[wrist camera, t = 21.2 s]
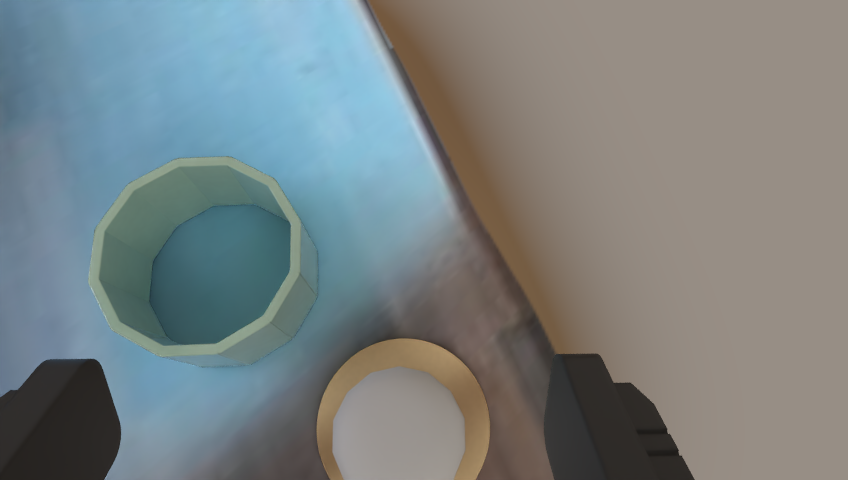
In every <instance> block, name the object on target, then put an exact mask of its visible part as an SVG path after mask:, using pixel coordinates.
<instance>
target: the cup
mask: <svg viewBox="0 0 848 480" xmlns="http://www.w3.org/2000/svg"><path fill="white" fill-rule="evenodd" d="M250 204H255V205H257V206H259V207H261V208H263V209H265V210H267V211H269V212H271V213H273V214H275V215H276V216H278V217H280V218H282V219H284V220H286V221H288V222H289V223H290V224H291V237H290V272H289V274H288V275H287V277H286V278H285V280H284V282H283V283H282V285H281V287H280V288H279V290H278V292H277V293H276V295H275V297H274V298H273V300H272V302H271V303H270V305H269V306H268V308H267V310H266V311H265V313H264V315H263V316H261V317H260V318H258V319H256V320H255V321H253V322H251V323H250V324H248V325H246V326H245V327H243V328H241V329H240V330H238V331H236V332H235V333H233V334H231V335H230V336H228V337H226V338H225V339H223V340H221V341H220V342H218V343H213V344H191V345H180V344H178V343H176V342H174V341H172V340H171V339H169V338H167V336H166V334H165V332H164V330H163V328H162V326H161V324H160V322H159V320H158V318H157V316H156V314H155V312H154V310H153V308H152V306H151V305H150V303H149V298H150V288H151V277H152V267H153V260H154V259H155V258H156V256H157V255H158V253H159V252H160V250H161V249H162V247H163V246H164V244H165V243H166V242H167V240H168V239H169V237H170V236H171V234H172V233H173V231H174V230H175V228H176V227H177V226H178V225H180V224H182V223H184V222H186V221H187V220H189V219H191V218H193V217H195V216H196V215H198V214H200V213H202V212H204V211H206V210H207V209H209V208H211V207H213V206H222V205H250ZM88 282H89V286H90V288H91V290H92V292H93V294H94V296H95V298H96V300H97V302H98V304H99V306H100V308H101V310H102V312H103V314H104V316H105V318H106V320H107V322H108V324H109V327H110V329H112V331H114V332H116V333H117V334H119V335H121V336H123V337H124V338H126V339H128V340H130V341H132V342H133V343H135V344H137V345H139V346H141V347H142V348H144V349H146V350H148V351H150V352H151V353H153V354H155V355H157V356H159V357H163V358H167V359H171V360H174V361H178V362H182V363H186V364H190V365H194V366H198V367H202V368H203V367H224V366H246V365H252V364H253V363H255V362H256V361H258V360H260V359H261V358H263V357H265V356H266V355H268V354H269V353H271V352H273V351H274V350H276V349H278V348H279V347H281V346H283V345H284V344H286V343H287V342H289V341H291V340H292V339H293V338H294V337H295V335H296V333H297V332H298V330H299V328H300V326H301V325H302V323H303V321H304V320H305V318H306V316H307V314H308V313H309V311H310V309H311V308H312V306H313V304H314V302H315V301H316V299H317V296H318V253H317V250H316V248H315V246H314V244H313V242H312V240H311V239H310V237H309V235H308V233H307V231H306V229H305V228H304V226H303V224H302V222H301V220H300V218H299V217H298V215H297V214H296V212H295V210H294V209H293V207H292V205H291V204H290V202H289V201H288V199H287V197H286V196H285V194H284V192H283V191H282V189H281V188H280V186H279V184H278V183H277V181H276V180H275V179H274V178H272V177H270V176H268V175H266V174H264V173H262V172H260V171H258V170H256V169H254V168H252V167H250V166H248V165H246V164H244V163H242V162H240V161H238V160H236V159H234V158H232V157H229V156H226V157H195V158H177V159H174V160H172V161H170V162H168V163H167V164H165V165H163V166H161V167H159V168H157V169H155V170H153V171H151V172H149V173H148V174H146V175H144V176H142V177H140V178H138V179H136V180H134V181H132V182H130V183H129V185H127V186H126V187H125V188H124V190H123V191H122V192H121V194H120V195H119V197H118V198H117V199H116V201H115V202H114V203H113V205H112V206H111V207H110V209H109V210H108V212H107V213H106V214H105V216H104V217H103V218H102V220H101V221H100V222H99V224H98V225H97V226H96V229H95V231H94V239H93V247H92V255H91V262H90V270H89V278H88Z"/></svg>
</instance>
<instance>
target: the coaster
mask: <svg viewBox="0 0 848 480" xmlns="http://www.w3.org/2000/svg"><path fill="white" fill-rule="evenodd" d="M398 366H400V367H405V368H410V369H415V370H419V371H424V372H428V373H429V374H430V375H432V376H433V377H434V378H435V379H437V380H438V381H439V382H440V383H441V384H443V385H444V386H445V387H446V388H448V389H449V390H450V391H451V393H452V394H453V396H454V398H455V400H456V402H457V404H458V406H459V408H460V410H461V412H462V414H463V416H464V418H465V452H464V455H463V457H462V460H461V462H460V465H459V467H458V470H457V472H456V475H455V477H454V480H475V479H476V478H477V476H478V474H479V472H480V470H481V468H482V466H483V463H484V461H485V458H486V455H487V450H488V446H489V438H490V418H489V411H488V407H487V403H486V399H485V396H484V394H483V392H482V389H481V387H480V385H479V383H478V382H477V380H476V378H475V377H474V375H473V374H472V373H471V371H470V370H469V369H468V367H467V366H466V365H465V364H464V363H463V362H462V361H461V360H460V359H458V358H457V357H456V356H455V355H453V354H452V353H450V352H449V351H447V350H446V349H444V348H442V347H440V346H438V345H435V344H433V343H430V342H426V341H423V340H417V339H405V338H400V339H391V340H386V341H382V342H378V343H376V344H373V345H371V346H368V347H367V348H365V349H363V350H361V351H359V352H358V353H356V354H355V355H354V356H352V357H351V358H350V359H349V360H348V361H347V362H345V363H344V364H343V365H342V366H341V368H340V369H339V370H338V371H337V372H336V374H335V375H334V376H333V378H332V380H331V381H330V383H329V384H328V386H327V388H326V391H325V393H324V395H323V398H322V401H321V404H320V407H319V412H318V417H317V443H318V449H319V454H320V457H321V460H322V463H323V466H324V468H325V470H326V473H327V475H328V477H329V478H330V480H344V479H343V477H342V474H341V472H340V469H339V467H338V465H337V462H336V460H335V457H334V455H333V452H332V449H333V420H334V418H335V416H336V414H337V412H338V410H339V408H340V406H341V404H342V402H343V400H344V398H345V396H346V394H347V392H348V391H349V390H351V389H352V388H353V387H354V386H355V385H357V384H358V383H359V382H360V381H361V380H363V379H364V378H365V377H366V376H367V375H369V374H370V373H372V372H377V371H381V370H385V369H390V368H394V367H398Z"/></svg>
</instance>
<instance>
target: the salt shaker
mask: <svg viewBox="0 0 848 480" xmlns="http://www.w3.org/2000/svg"><path fill="white" fill-rule="evenodd" d="M332 452H333V455H334V457H335V460H336V462H337V465H338V467H339V469H340V472H341V474H342V477H343V479H344V480H454V477H455V475H456V472H457V470H458V467H459V465H460V462H461V460H462V457H463V455H464V452H465V418H464V416H463V414H462V412H461V410H460V408H459V406H458V404H457V402H456V400H455V398H454V396H453V394H452V393H451V391H450V390H449V389H448V388H446V387H445V386H444V385H443V384H441V383H440V382H439V381H438V380H437V379H435V378H434V377H433V376H432V375H430V374H429V373H428V372H424V371H419V370H415V369H410V368H405V367H400V366H398V367H394V368H390V369H385V370H381V371H377V372H372V373H370V374H369V375H367V376H366V377H365V378H364V379H363V380H361V381H360V382H359V383H358V384H357V385H355V386H354V387H353V388H352V389H351V390H349V391H348V392H347V394H346V396H345V398H344V400H343V402H342V404H341V406H340V408H339V410H338V412H337V414H336V416H335V418H334V420H333V449H332Z"/></svg>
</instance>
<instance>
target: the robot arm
mask: <svg viewBox="0 0 848 480" xmlns="http://www.w3.org/2000/svg"><path fill="white" fill-rule="evenodd" d="M544 435H545V444H546V450H547V454H548V458H549V462H550V465H551V469H552V472H553V476H554V479H555V480H694V478H693V476H692V474H691V472H690V471H689V469H688V467H687V465H686V463H685V461H684V459H683V458H682V456H679V453H678V451H679V450H678V448H677V446H676V444H675V442H674V441H673V439H672V437H671V435H670V434H668V433H667V428H666V426H665V424H664V422H663V420H662V418H661V416H660V415H659V413H658V411H657V409H656V407H655V405H654V404H653V403H652V402H651V401H650V400H649V399H648V398H647V397H646V396H645V395H643V394H642V393H641V392H640V391H639V390H638V389H637V388H636V387H635V386H634V385H633V384H631V383H613V381H612V379H611V377H610V374H609V372H608V370H607V368H606V366H605V364H604V362H603V360H602V358H601V356H600V355H598V354H556V355H555V356H554V358H553V362H552V368H551V375H550V382H549V389H548V396H547V403H546V410H545V417H544ZM120 440H121V426H120V421H119V418H118V415H117V412H116V409H115V406H114V403H113V400H112V396H111V393H110V390H109V387H108V384H107V381H106V378H105V375H104V372H103V369H102V366H101V365H100V363H99V362H98V361H97V360H95V359H50V360H46V361H44V362H42V363H41V364H40V365H39V366H38V367H37V368H36V369H35V371H34V372H33V373H32V374H31V375H30V376H29V378H28V379H27V380H26V381H25V382H24V383H23V385H22V386H21V387H20V388H19V389H18V390H10V391H9V392H7V393H6V394H5V395H3V396H2V397H0V480H104V479H105V477H106V475H107V473H108V471H109V470H110V468H111V466H112V464H113V462H114V460H115V458H116V456H117V453H118V450H119V446H120Z"/></svg>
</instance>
